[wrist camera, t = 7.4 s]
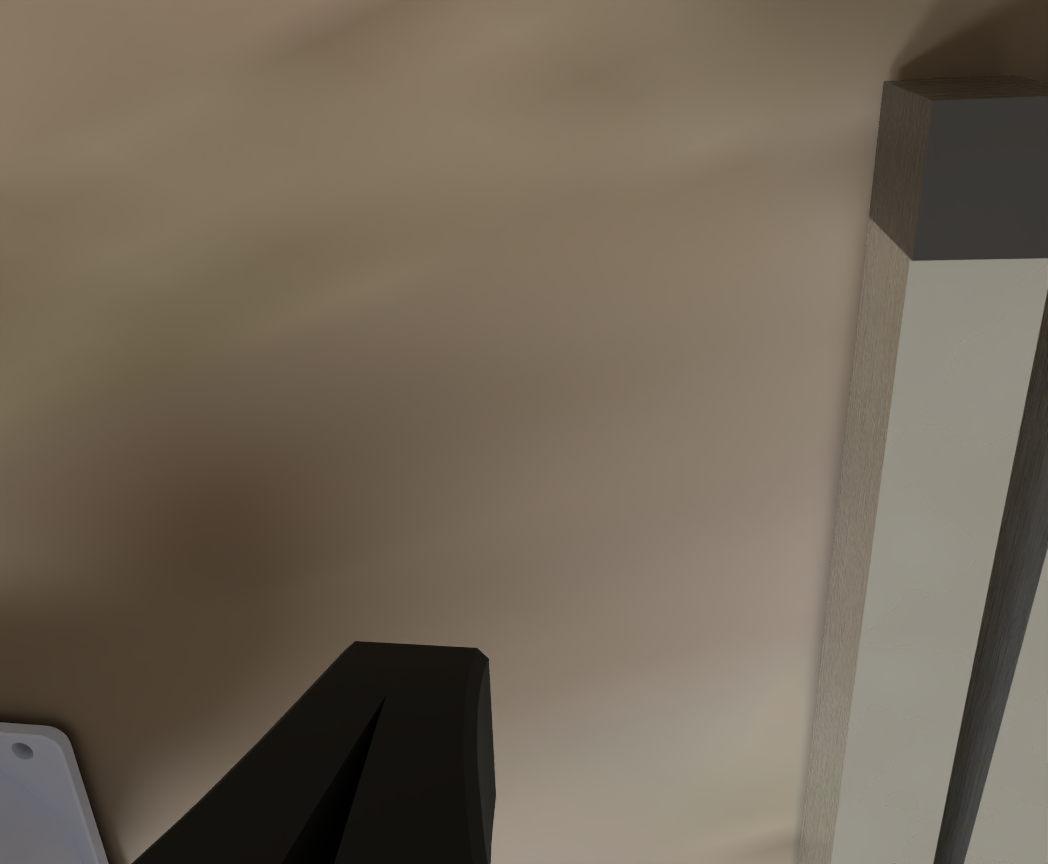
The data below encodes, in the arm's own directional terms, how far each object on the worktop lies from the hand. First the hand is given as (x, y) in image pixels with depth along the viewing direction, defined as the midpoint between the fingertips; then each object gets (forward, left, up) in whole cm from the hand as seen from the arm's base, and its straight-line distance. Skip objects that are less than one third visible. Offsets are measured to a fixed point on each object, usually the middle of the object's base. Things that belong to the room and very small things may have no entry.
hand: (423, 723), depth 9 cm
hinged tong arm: (+7, -6, -8) cm, 12 cm away
